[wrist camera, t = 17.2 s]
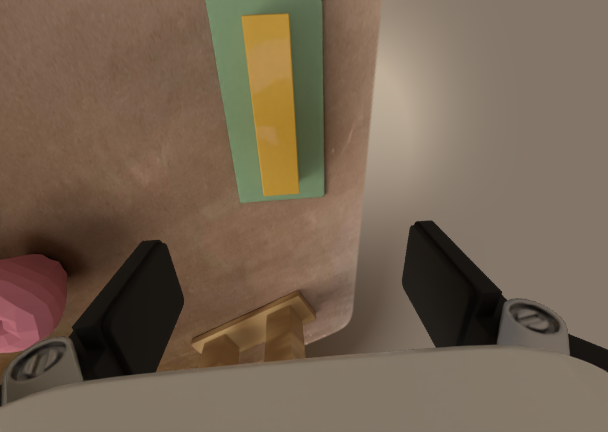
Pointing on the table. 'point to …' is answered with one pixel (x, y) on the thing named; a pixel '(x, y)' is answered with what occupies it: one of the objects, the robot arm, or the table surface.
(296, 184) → the bar
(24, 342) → the apple
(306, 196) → the mat
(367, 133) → the table surface
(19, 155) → the table surface
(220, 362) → the light wood u-shaped piece
